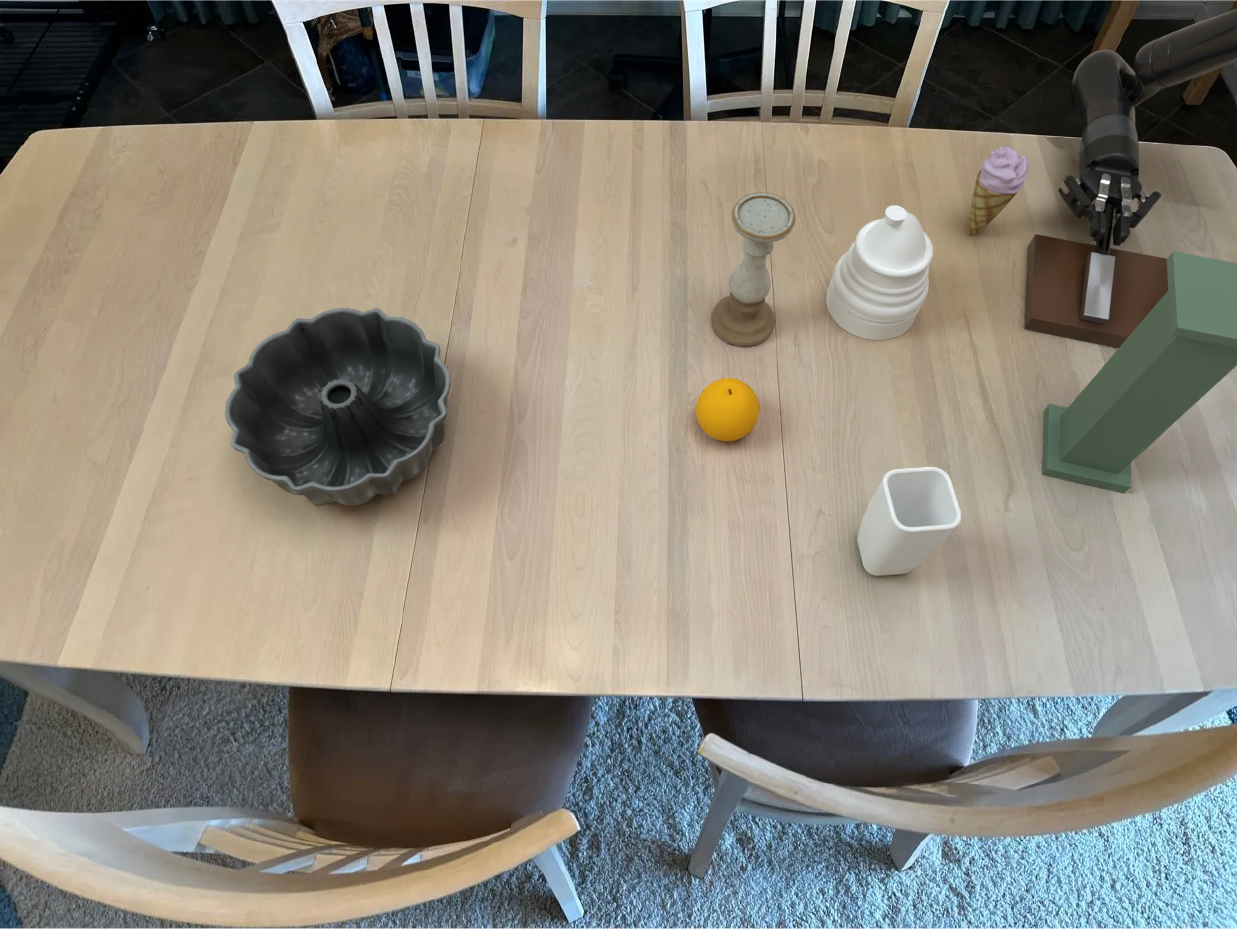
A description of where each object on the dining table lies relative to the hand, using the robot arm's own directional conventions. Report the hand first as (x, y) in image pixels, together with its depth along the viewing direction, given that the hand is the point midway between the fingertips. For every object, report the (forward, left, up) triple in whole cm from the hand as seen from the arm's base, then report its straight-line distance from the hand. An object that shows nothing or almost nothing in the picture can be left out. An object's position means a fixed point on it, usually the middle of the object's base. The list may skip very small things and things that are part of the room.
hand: (1109, 238), depth 115 cm
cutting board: (-2, +4, -7) cm, 9 cm away
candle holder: (+46, +21, -8) cm, 51 cm away
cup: (+23, +51, -8) cm, 57 cm away
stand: (0, +30, -7) cm, 31 cm away
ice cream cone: (+16, -5, -8) cm, 18 cm away
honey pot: (+29, +13, -8) cm, 33 cm away
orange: (+45, +38, -8) cm, 60 cm away
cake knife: (0, +2, -3) cm, 4 cm away
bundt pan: (+90, +52, -8) cm, 104 cm away
